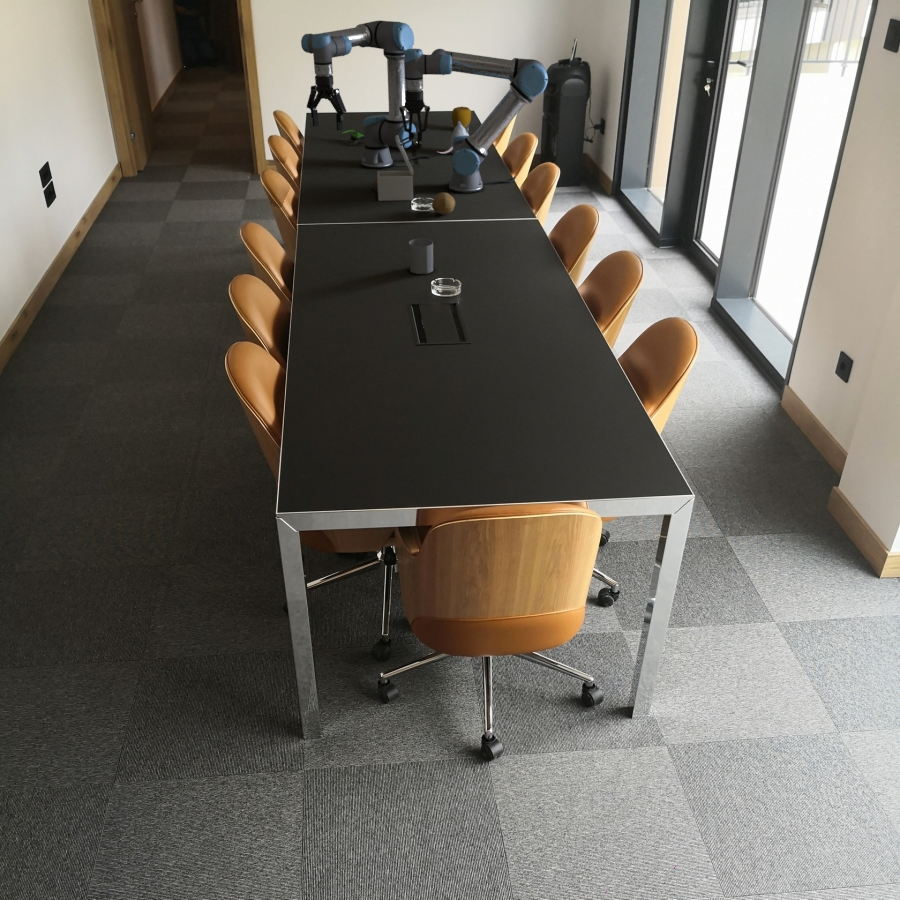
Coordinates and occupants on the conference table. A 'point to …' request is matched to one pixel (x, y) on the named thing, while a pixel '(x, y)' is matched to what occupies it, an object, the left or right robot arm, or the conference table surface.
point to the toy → (457, 131)
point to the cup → (421, 256)
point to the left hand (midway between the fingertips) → (327, 128)
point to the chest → (395, 185)
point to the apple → (461, 116)
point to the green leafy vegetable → (354, 137)
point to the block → (375, 185)
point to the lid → (404, 150)
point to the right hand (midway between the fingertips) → (415, 148)
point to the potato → (443, 203)
